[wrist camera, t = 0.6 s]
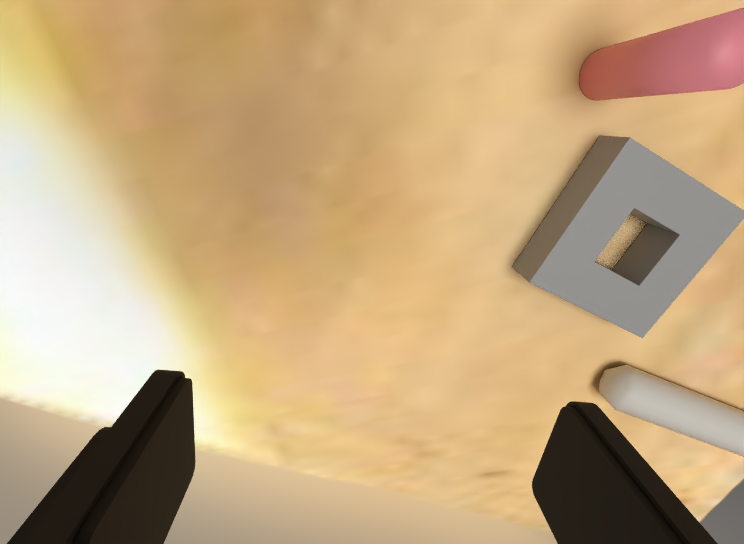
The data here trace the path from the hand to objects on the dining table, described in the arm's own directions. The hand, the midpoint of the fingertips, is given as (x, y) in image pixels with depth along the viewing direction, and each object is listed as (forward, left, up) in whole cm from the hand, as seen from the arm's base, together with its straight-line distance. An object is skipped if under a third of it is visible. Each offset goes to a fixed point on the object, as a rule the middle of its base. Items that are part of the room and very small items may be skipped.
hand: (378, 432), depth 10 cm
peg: (-19, +14, -28) cm, 37 cm away
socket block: (-8, +24, -28) cm, 38 cm away
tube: (+4, +46, -28) cm, 54 cm away
